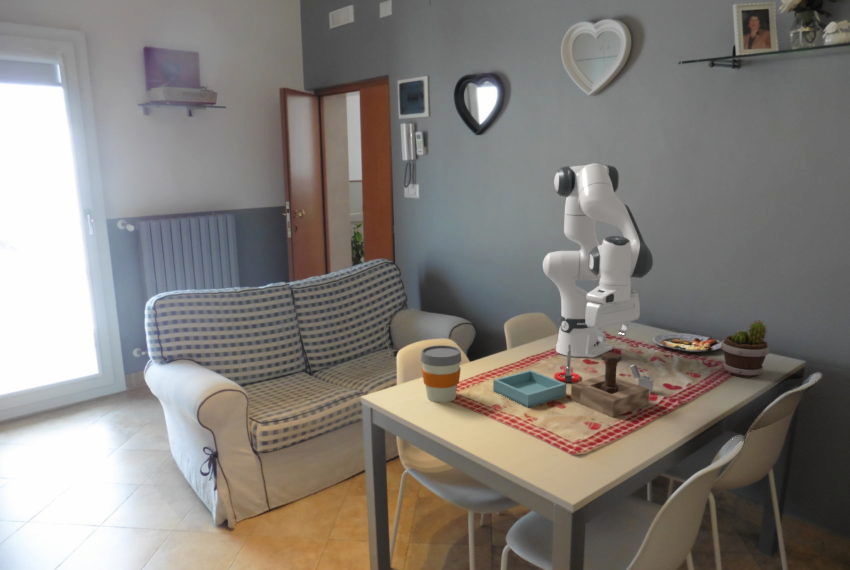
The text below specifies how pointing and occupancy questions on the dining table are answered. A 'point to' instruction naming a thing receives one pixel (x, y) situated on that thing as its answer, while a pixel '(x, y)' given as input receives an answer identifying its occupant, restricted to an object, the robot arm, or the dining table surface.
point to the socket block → (610, 396)
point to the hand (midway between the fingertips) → (612, 338)
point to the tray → (529, 388)
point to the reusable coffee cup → (441, 372)
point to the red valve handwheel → (568, 371)
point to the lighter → (642, 378)
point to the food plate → (685, 345)
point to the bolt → (610, 372)
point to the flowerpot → (746, 351)
